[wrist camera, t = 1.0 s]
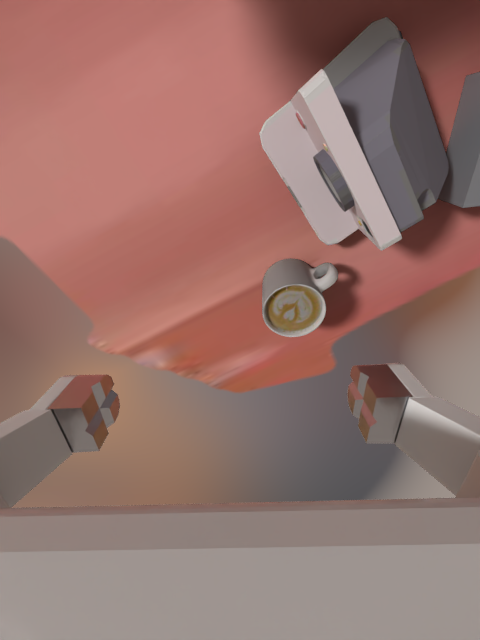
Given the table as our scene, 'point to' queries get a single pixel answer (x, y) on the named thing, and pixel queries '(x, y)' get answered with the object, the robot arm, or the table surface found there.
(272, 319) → the coffee mug
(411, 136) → the instant camera
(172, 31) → the table surface
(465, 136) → the camera box
